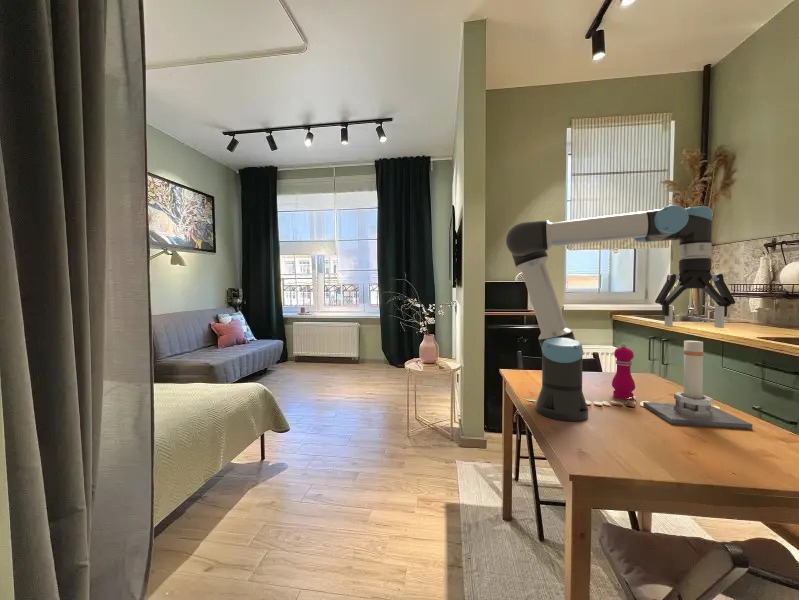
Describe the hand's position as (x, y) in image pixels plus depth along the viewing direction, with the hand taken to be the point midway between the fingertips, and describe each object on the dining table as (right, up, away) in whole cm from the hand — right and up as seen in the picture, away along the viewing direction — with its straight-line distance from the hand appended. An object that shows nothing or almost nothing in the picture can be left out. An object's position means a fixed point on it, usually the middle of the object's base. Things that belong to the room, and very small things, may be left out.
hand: (693, 327), depth 104 cm
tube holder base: (0, -28, 0) cm, 28 cm away
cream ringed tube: (0, -26, 0) cm, 26 cm away
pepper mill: (-8, -28, +20) cm, 35 cm away
